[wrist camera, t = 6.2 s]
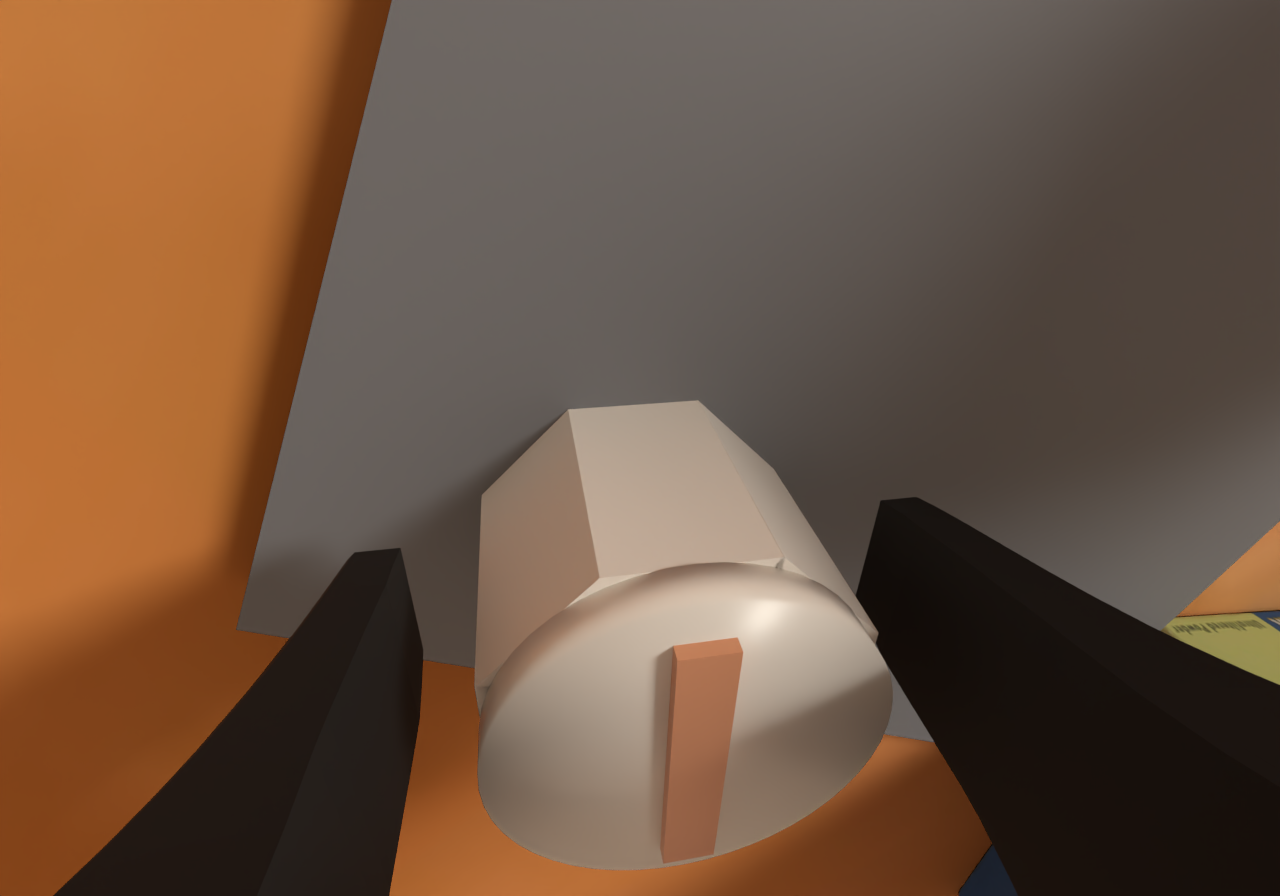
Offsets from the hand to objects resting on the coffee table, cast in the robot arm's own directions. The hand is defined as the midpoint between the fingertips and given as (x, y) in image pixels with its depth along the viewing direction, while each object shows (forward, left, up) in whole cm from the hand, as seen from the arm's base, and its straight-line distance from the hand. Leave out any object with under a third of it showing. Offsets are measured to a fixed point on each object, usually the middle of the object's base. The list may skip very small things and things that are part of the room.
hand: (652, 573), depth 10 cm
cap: (0, 0, -2) cm, 2 cm away
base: (-4, -4, -3) cm, 6 cm away
